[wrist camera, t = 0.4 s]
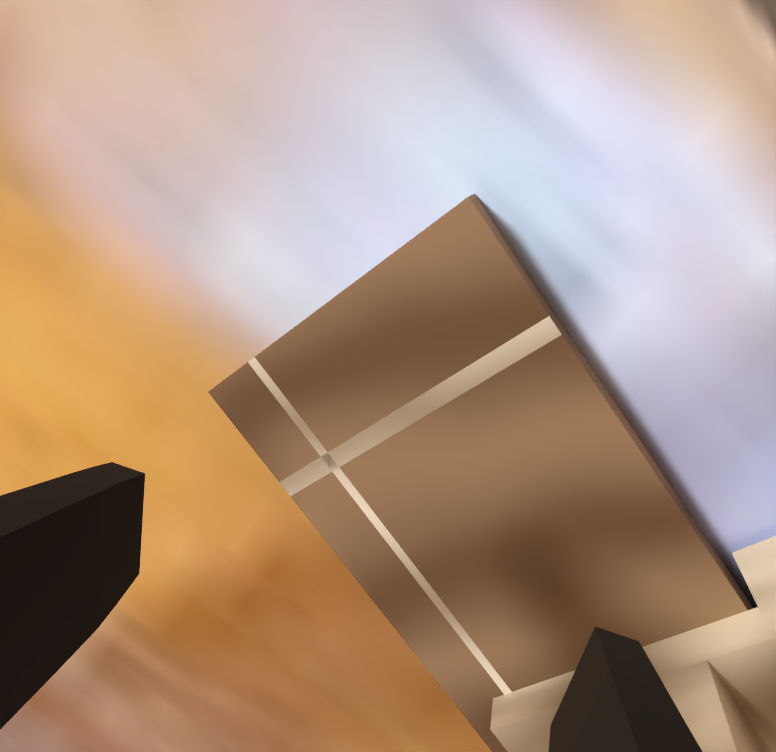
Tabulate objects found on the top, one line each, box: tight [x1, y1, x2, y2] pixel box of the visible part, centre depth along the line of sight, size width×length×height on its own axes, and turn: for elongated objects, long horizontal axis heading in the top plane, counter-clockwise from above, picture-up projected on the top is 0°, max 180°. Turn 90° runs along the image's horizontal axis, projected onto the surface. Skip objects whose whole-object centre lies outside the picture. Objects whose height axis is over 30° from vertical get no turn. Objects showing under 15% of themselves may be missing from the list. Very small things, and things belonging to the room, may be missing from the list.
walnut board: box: [209, 194, 753, 752], centre depth 19 cm, size 20×10×2 cm, turn 37°
